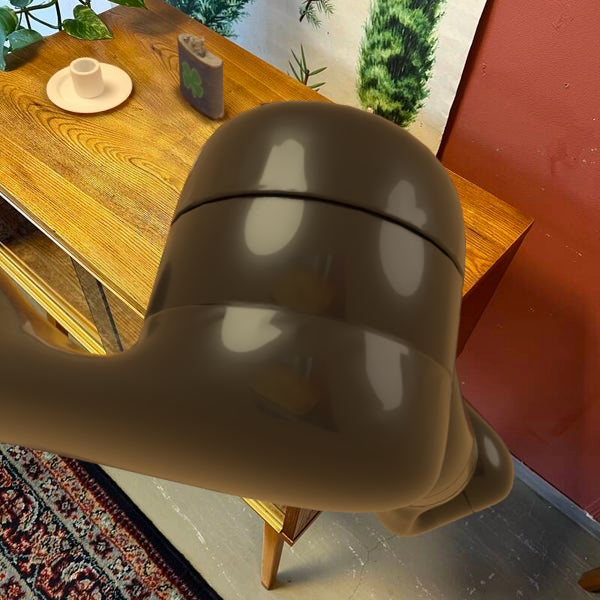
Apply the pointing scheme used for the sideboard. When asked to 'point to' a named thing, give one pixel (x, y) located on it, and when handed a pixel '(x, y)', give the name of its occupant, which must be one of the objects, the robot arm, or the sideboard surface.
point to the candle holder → (89, 86)
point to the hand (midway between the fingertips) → (302, 168)
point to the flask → (200, 77)
